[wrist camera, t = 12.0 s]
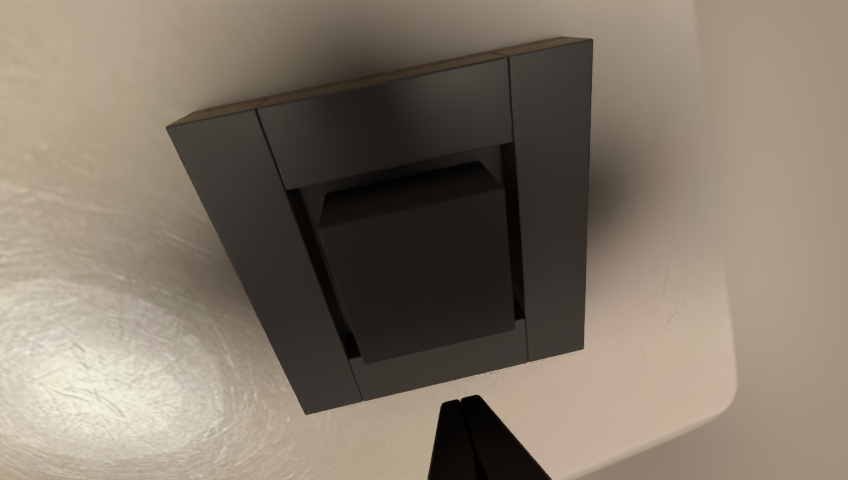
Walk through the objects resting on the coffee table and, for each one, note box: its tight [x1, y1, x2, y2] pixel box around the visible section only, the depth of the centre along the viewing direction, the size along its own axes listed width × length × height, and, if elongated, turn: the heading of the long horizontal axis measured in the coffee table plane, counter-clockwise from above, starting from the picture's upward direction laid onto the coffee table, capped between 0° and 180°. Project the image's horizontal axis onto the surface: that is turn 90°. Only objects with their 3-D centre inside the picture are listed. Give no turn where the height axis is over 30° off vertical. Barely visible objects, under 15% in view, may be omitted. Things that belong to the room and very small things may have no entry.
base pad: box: [166, 37, 593, 415], centre depth 15 cm, size 12×12×2 cm
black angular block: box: [318, 161, 515, 365], centre depth 14 cm, size 6×6×3 cm
